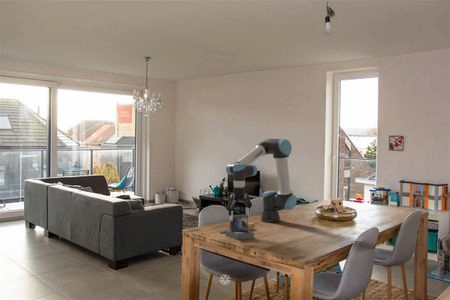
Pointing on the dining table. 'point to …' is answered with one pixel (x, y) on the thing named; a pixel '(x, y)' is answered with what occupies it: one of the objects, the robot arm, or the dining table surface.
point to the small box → (239, 223)
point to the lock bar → (251, 226)
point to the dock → (239, 234)
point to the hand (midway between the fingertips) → (239, 219)
